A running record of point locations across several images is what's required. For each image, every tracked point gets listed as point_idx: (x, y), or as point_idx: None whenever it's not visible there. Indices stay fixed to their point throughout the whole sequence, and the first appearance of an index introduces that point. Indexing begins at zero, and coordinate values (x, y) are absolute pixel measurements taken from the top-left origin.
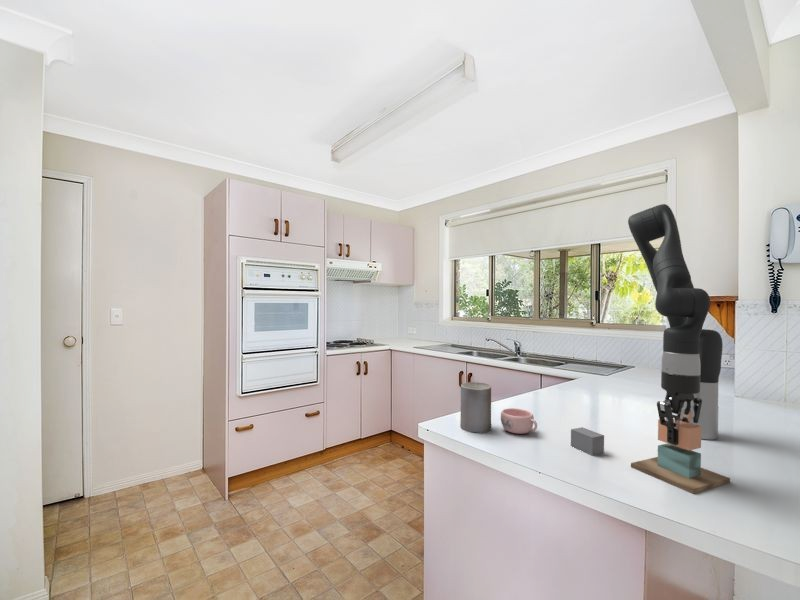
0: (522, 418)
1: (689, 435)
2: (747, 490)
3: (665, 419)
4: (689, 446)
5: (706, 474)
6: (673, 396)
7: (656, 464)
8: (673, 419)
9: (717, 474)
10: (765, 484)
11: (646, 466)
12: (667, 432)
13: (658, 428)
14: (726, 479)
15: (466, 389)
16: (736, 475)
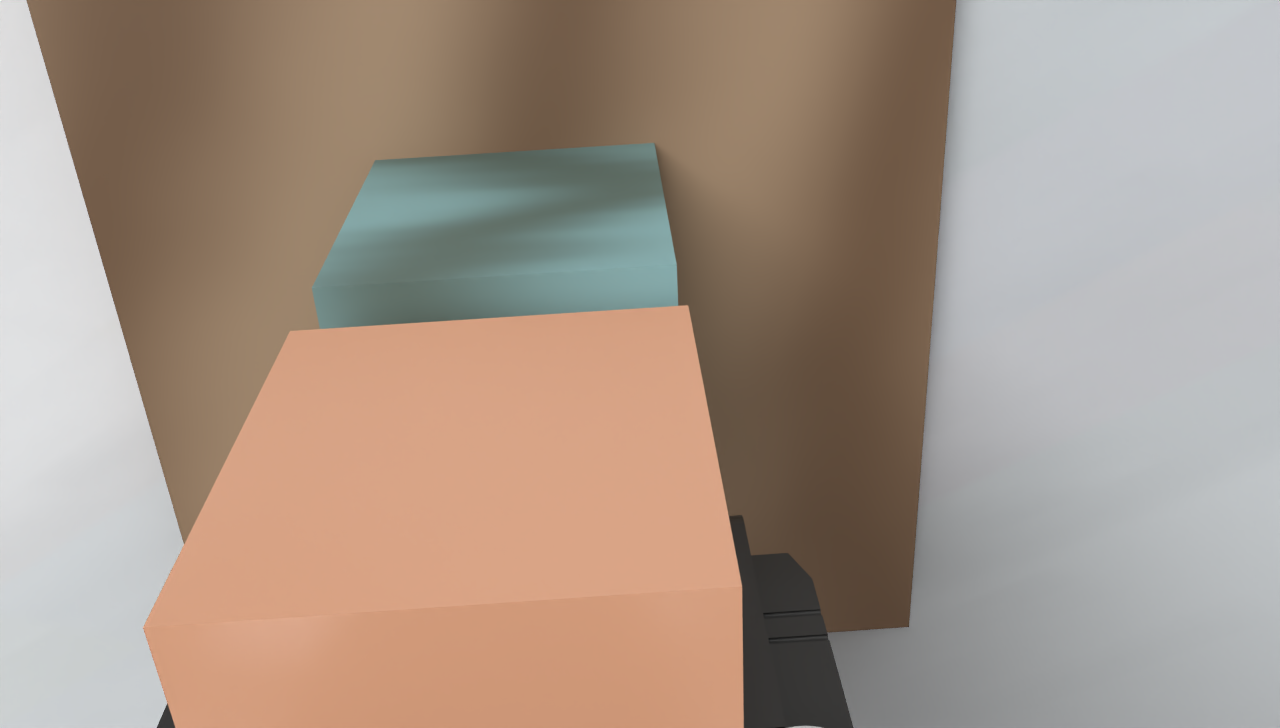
0: None
1: None
2: (857, 719)
3: (405, 666)
4: None
5: (757, 510)
6: None
7: (400, 123)
8: (656, 719)
9: (884, 542)
10: (1185, 696)
11: (172, 129)
12: (163, 722)
13: (225, 475)
14: (839, 628)
15: None
16: (1186, 516)
